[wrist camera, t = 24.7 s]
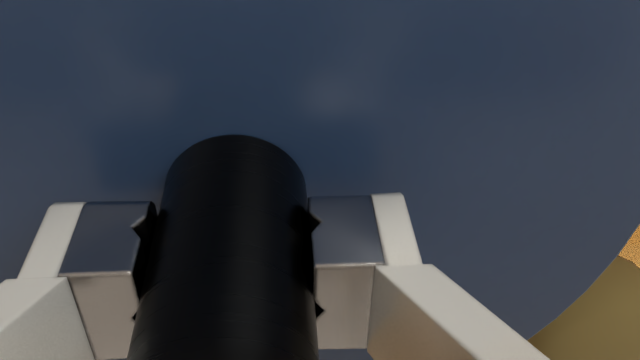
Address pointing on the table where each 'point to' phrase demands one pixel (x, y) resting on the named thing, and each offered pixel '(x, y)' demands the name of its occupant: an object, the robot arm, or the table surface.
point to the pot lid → (325, 148)
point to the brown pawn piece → (598, 320)
